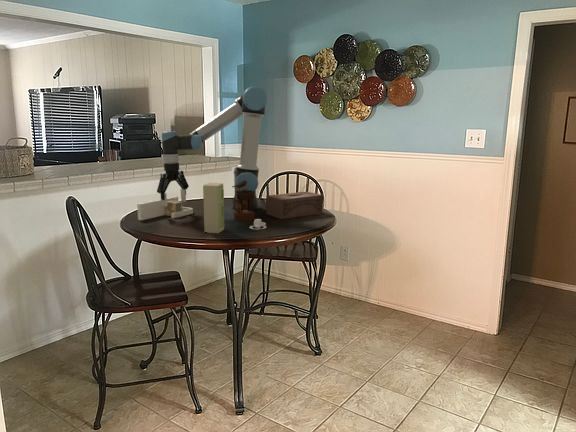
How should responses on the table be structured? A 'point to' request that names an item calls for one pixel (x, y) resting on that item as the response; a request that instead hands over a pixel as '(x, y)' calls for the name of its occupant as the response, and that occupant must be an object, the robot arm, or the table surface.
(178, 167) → the robot arm
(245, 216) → the brown upright irregular piece
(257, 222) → the teacup and saucer
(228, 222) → the table surface
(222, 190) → the pale green tall block
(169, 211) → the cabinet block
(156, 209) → the wall board
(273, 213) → the tissue box cover
